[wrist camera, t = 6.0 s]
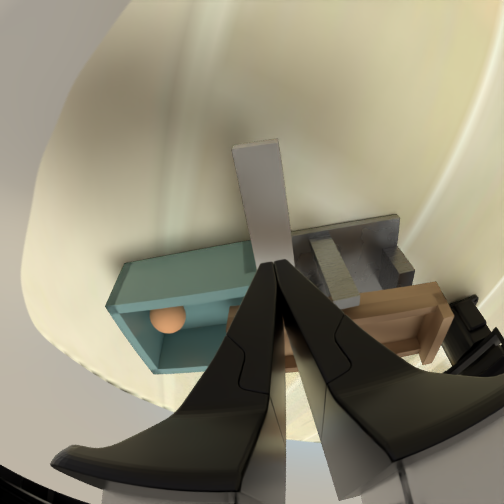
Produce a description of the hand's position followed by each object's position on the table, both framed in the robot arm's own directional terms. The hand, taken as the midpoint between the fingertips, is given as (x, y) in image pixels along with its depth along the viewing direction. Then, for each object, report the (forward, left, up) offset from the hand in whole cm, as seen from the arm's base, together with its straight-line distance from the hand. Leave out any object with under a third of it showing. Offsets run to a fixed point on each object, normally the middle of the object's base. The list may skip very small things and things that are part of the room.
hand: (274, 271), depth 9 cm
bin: (-10, +6, -11) cm, 16 cm away
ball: (-10, +9, -9) cm, 16 cm away
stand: (-10, -5, -11) cm, 15 cm away
